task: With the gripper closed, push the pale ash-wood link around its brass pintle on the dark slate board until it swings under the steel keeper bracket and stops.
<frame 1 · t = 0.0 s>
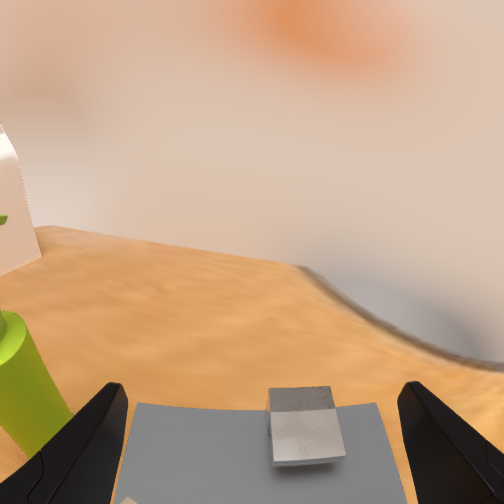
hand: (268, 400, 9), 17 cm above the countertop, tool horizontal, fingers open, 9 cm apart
milk: (8, 260, 47), on the countertop
soap dispenser: (64, 446, 20), on the countertop
keeper: (294, 426, 25), resting on board
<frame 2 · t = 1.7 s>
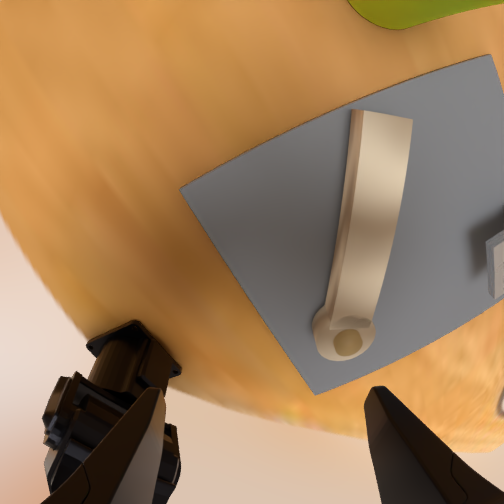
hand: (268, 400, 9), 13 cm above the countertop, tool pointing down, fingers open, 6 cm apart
link: (363, 253, 19), point 2 cm above the countertop, hinge at 60.0°
board: (409, 246, 21), on the countertop
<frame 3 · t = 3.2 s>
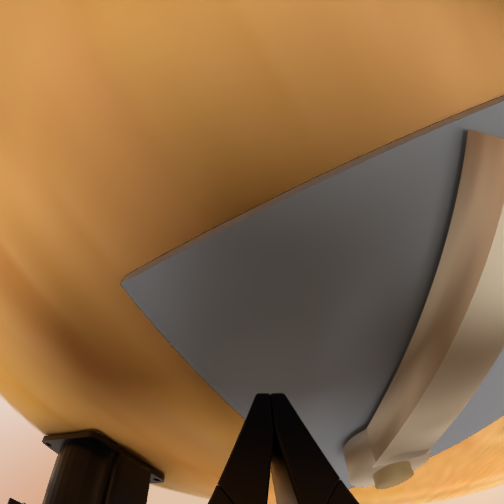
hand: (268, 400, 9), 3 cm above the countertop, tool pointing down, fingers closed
link: (443, 380, 10), point 2 cm above the countertop, hinge at 60.0°
board: (491, 339, 12), on the countertop
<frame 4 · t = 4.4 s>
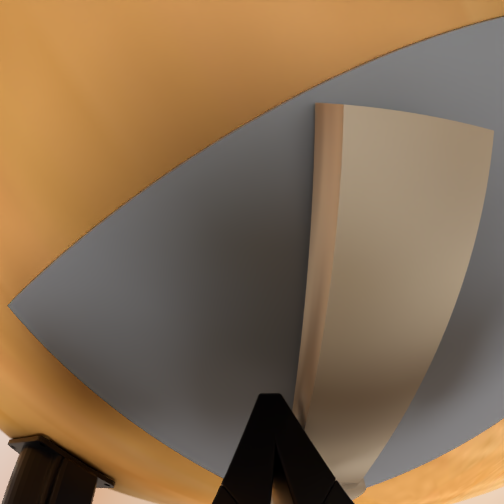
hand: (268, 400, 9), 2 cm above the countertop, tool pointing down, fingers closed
link: (345, 418, 9), point 2 cm above the countertop, hinge at 60.0°, touching gripper
board: (437, 362, 11), on the countertop
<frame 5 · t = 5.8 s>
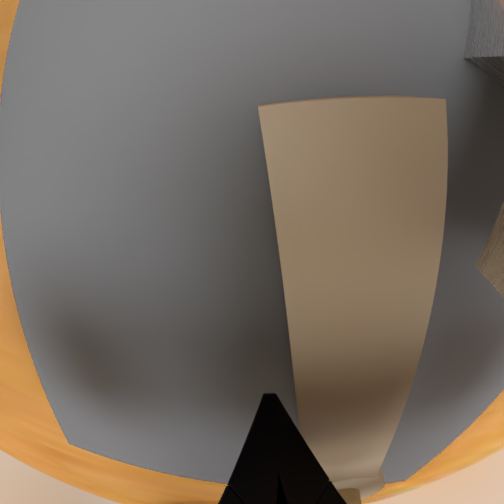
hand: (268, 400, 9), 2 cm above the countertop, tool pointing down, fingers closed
link: (346, 415, 9), point 2 cm above the countertop, hinge at 21.6°, touching gripper
board: (331, 345, 10), on the countertop
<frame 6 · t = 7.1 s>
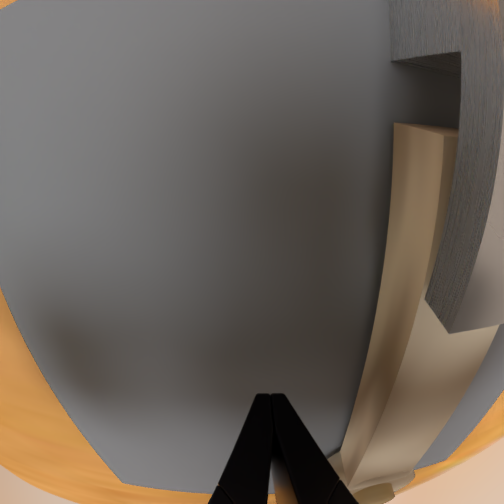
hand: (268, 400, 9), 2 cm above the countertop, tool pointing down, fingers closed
link: (407, 410, 9), point 2 cm above the countertop, hinge at 3.9°
keeper: (461, 42, 6), resting on board
board: (327, 364, 10), on the countertop
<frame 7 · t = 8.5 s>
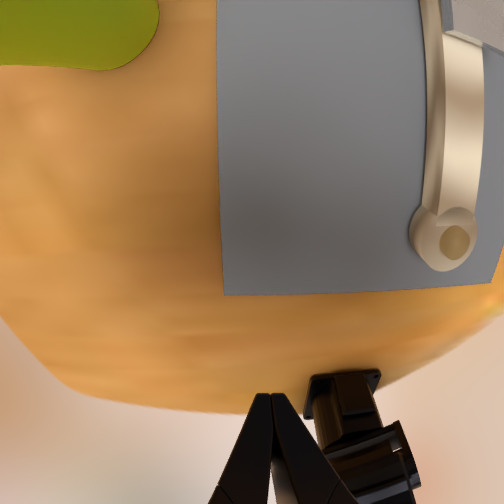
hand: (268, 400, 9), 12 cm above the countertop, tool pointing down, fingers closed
soap dispenser: (115, 17, 13), on the countertop
link: (457, 134, 14), point 2 cm above the countertop, hinge at 3.9°
board: (406, 113, 16), on the countertop
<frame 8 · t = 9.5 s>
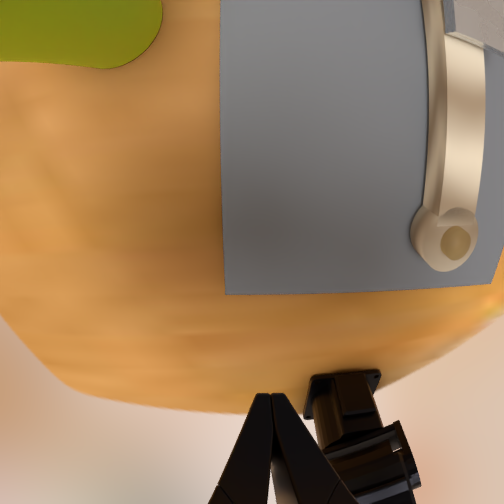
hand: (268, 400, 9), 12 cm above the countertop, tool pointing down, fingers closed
soap dispenser: (118, 15, 13), on the countertop
link: (459, 135, 15), point 2 cm above the countertop, hinge at 3.9°
board: (408, 114, 16), on the countertop
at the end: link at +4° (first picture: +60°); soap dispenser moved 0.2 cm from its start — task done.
